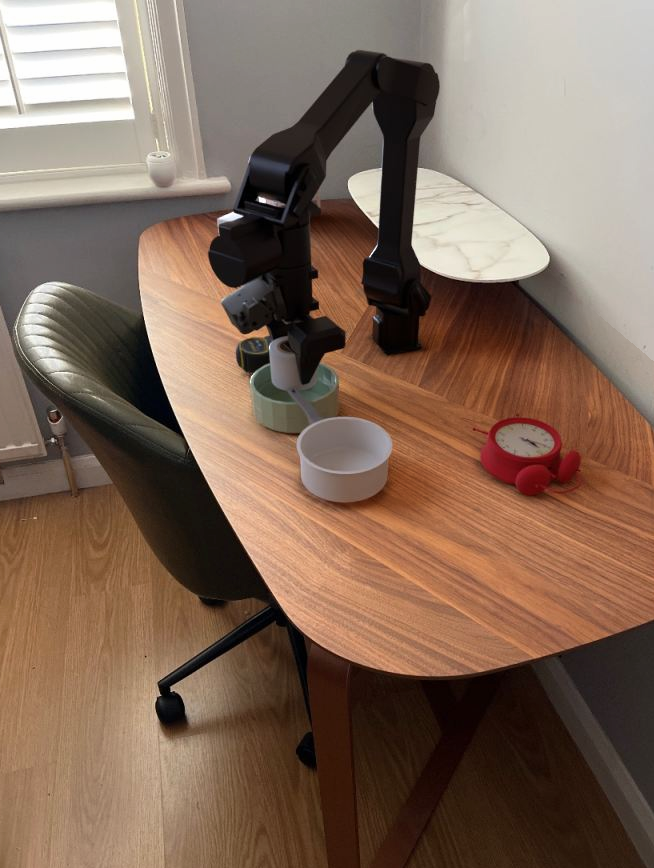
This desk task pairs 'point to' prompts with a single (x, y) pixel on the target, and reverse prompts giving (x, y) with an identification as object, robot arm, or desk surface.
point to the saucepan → (341, 455)
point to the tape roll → (286, 367)
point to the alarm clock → (528, 455)
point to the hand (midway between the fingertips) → (294, 372)
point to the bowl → (292, 400)
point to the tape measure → (253, 353)
